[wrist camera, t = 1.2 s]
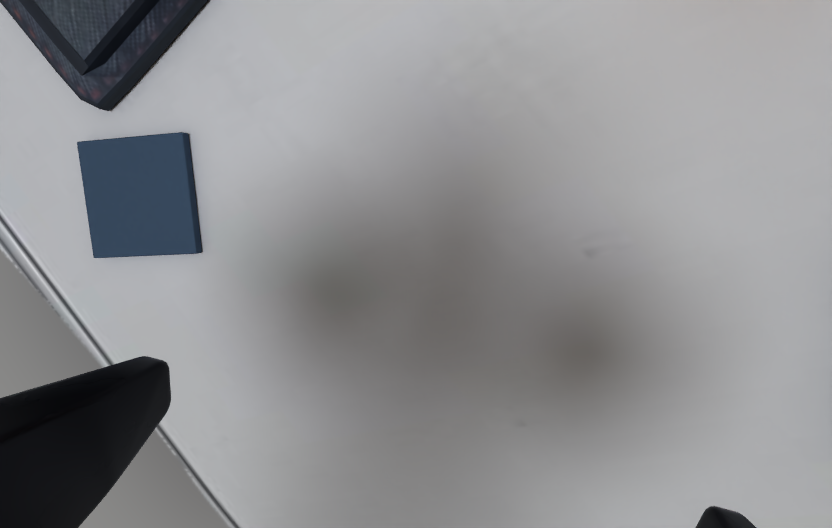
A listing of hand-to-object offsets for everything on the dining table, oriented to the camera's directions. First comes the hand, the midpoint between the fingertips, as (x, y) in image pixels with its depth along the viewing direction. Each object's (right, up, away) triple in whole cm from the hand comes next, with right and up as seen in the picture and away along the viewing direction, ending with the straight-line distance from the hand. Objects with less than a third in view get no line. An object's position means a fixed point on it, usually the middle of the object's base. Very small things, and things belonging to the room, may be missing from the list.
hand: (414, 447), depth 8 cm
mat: (-14, +7, +16) cm, 23 cm away
